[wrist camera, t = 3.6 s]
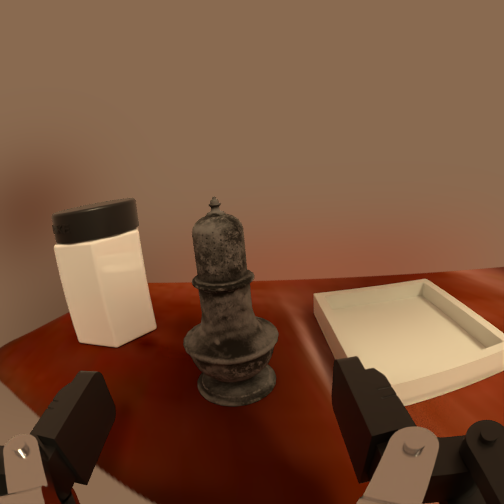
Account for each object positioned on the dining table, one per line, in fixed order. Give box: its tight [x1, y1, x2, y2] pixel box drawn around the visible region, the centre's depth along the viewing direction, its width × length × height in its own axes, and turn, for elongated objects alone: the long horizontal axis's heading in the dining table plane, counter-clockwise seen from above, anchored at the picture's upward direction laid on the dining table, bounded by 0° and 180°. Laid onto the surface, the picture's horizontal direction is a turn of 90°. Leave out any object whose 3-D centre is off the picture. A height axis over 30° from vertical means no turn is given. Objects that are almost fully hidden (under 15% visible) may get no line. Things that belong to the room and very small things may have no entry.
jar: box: [52, 198, 157, 348], centre depth 27 cm, size 9×8×12 cm
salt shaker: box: [183, 197, 278, 406], centre depth 18 cm, size 6×6×12 cm
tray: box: [313, 279, 504, 406], centre depth 22 cm, size 12×14×2 cm
